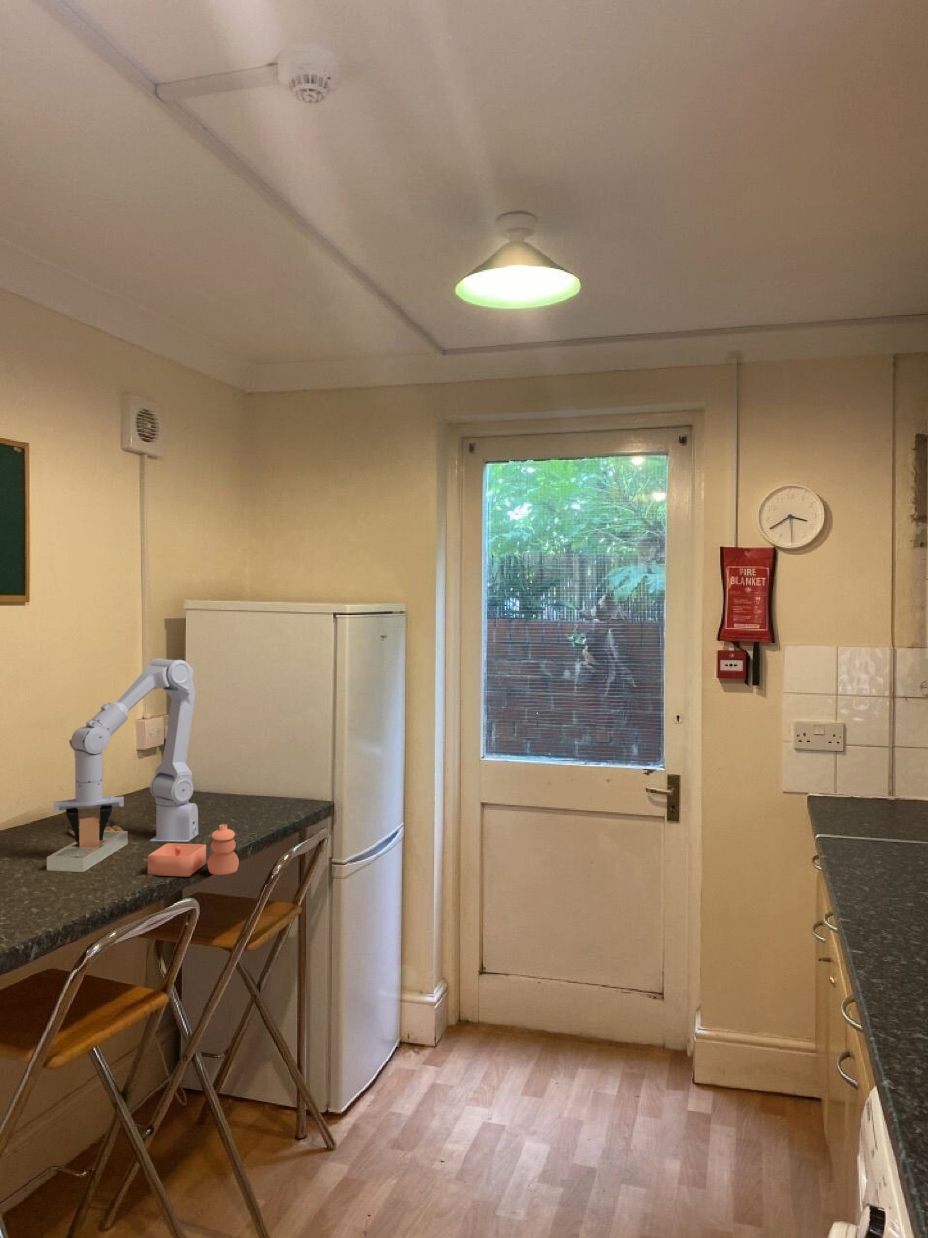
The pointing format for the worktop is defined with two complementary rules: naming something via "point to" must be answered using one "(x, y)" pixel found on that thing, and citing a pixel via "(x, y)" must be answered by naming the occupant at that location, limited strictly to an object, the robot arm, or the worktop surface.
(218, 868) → the pottery
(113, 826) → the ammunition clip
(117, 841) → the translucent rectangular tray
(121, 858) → the worktop surface
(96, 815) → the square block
